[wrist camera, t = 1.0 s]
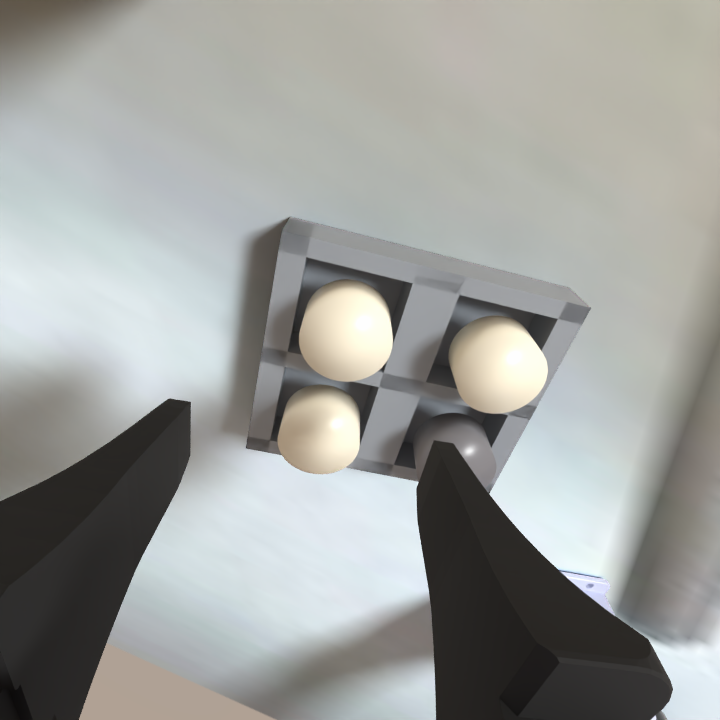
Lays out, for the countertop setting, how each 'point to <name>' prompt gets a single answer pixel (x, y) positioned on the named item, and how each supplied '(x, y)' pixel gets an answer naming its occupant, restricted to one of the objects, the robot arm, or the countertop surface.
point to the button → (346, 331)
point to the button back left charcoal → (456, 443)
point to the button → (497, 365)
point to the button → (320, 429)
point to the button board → (401, 339)
